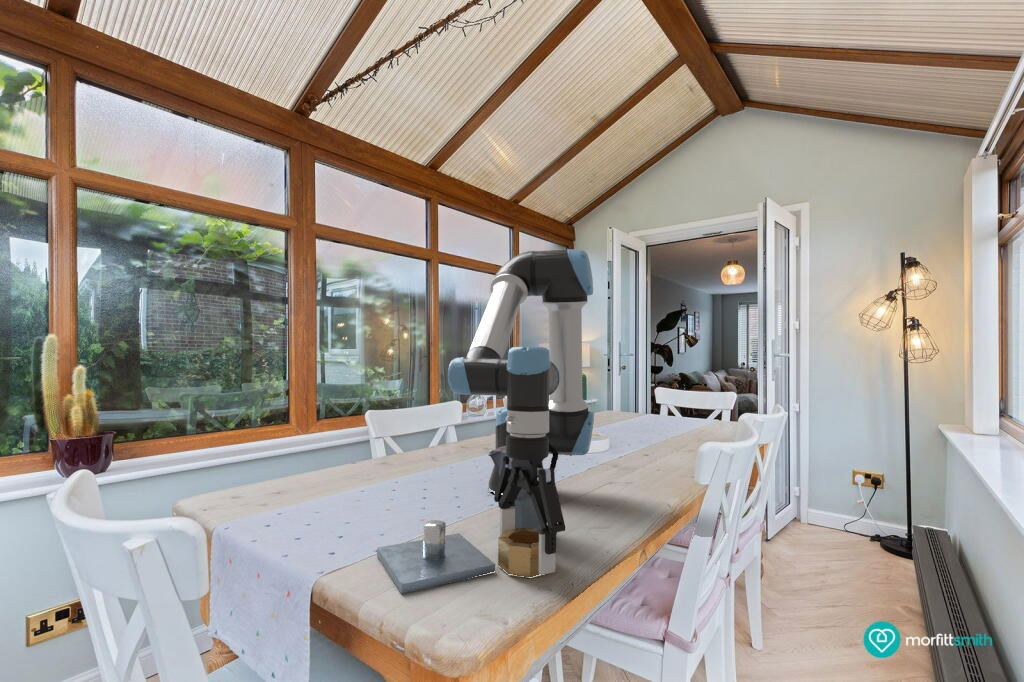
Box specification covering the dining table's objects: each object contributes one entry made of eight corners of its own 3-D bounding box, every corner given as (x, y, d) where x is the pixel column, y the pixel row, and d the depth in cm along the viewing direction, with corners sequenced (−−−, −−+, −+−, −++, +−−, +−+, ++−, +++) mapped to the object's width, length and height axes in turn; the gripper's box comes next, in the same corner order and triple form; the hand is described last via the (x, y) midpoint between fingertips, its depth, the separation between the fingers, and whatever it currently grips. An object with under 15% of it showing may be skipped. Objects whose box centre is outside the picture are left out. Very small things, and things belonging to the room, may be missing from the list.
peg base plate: (458, 541, 96) (459, 505, 96) (495, 573, 82) (495, 531, 82) (377, 555, 88) (377, 517, 88) (401, 594, 74) (402, 547, 74)
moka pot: (480, 527, 103) (482, 433, 104) (546, 520, 109) (547, 430, 109) (495, 544, 94) (496, 440, 95) (566, 535, 100) (567, 437, 100)
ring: (534, 552, 91) (534, 525, 91) (562, 571, 83) (562, 541, 83) (491, 561, 86) (491, 533, 87) (516, 582, 78) (516, 551, 79)
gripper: (478, 426, 94) (476, 537, 93) (548, 446, 73) (546, 591, 72) (512, 425, 98) (510, 531, 97) (588, 443, 76) (587, 581, 75)
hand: (525, 557), depth 84 cm, fingers open, 13 cm apart
